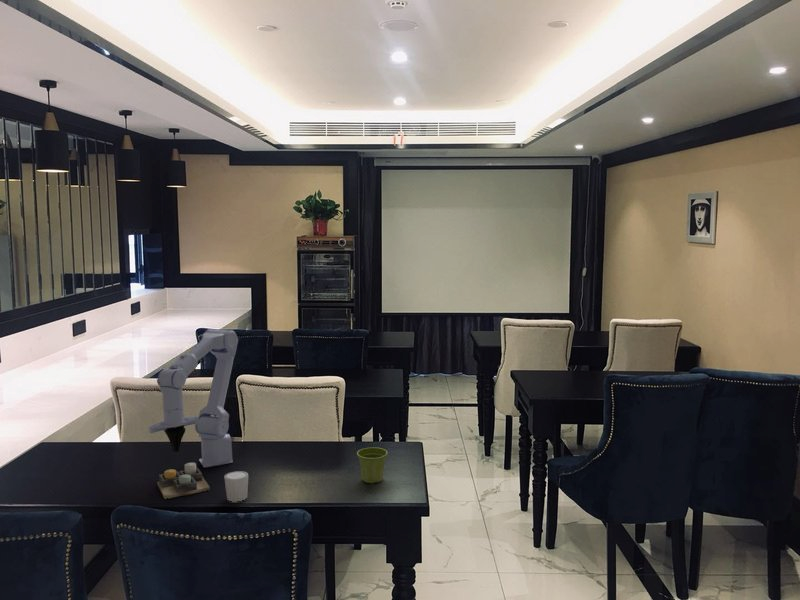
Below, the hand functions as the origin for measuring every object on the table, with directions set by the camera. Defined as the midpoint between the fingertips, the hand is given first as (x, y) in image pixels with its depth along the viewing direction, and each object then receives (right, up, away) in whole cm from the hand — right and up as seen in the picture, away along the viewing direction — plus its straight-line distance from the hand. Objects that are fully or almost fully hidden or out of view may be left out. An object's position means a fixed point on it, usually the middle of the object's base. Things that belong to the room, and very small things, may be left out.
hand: (175, 450), depth 212 cm
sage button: (+5, -9, -7) cm, 12 cm away
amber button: (-1, -9, -2) cm, 9 cm away
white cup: (+22, -11, -12) cm, 27 cm away
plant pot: (+60, -9, 0) cm, 61 cm away
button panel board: (+4, -10, -4) cm, 11 cm away
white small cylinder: (+5, -7, 0) cm, 8 cm away
